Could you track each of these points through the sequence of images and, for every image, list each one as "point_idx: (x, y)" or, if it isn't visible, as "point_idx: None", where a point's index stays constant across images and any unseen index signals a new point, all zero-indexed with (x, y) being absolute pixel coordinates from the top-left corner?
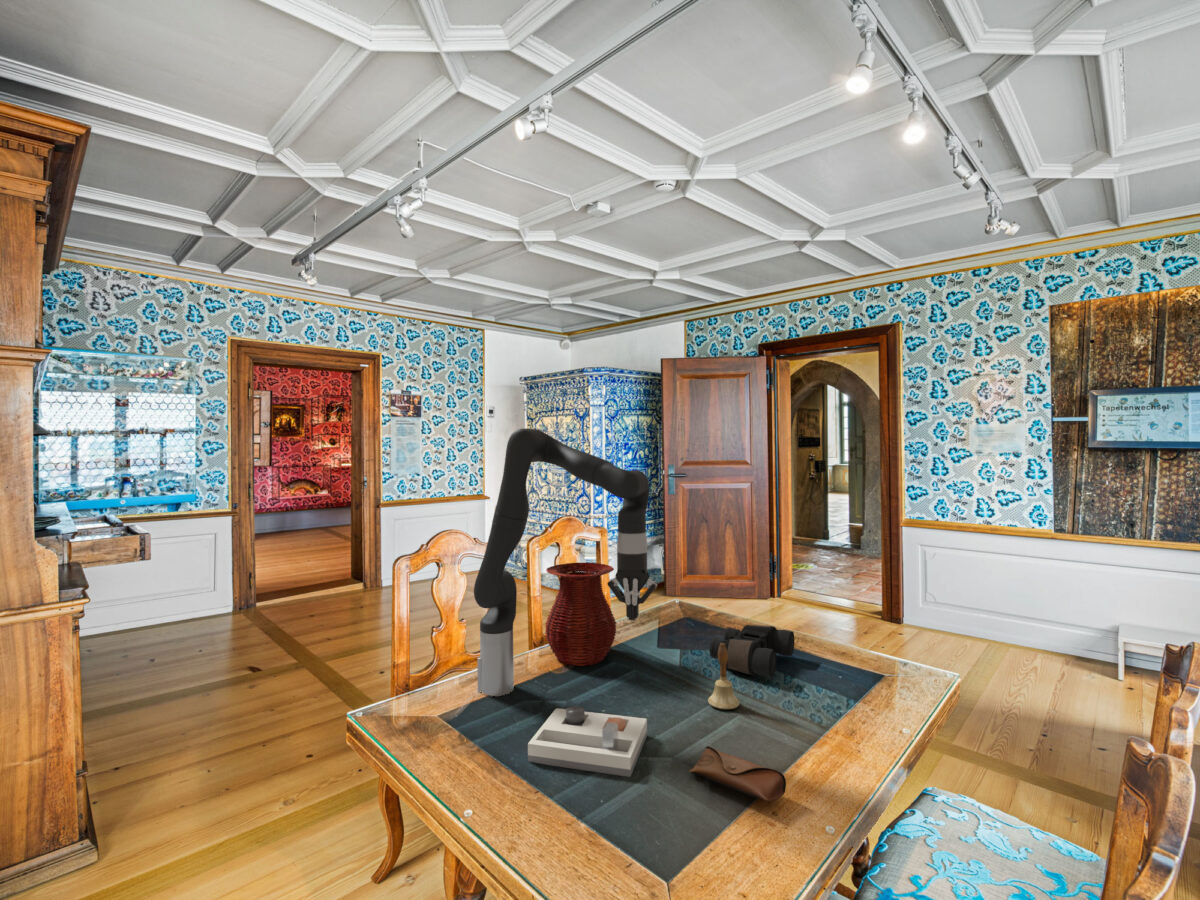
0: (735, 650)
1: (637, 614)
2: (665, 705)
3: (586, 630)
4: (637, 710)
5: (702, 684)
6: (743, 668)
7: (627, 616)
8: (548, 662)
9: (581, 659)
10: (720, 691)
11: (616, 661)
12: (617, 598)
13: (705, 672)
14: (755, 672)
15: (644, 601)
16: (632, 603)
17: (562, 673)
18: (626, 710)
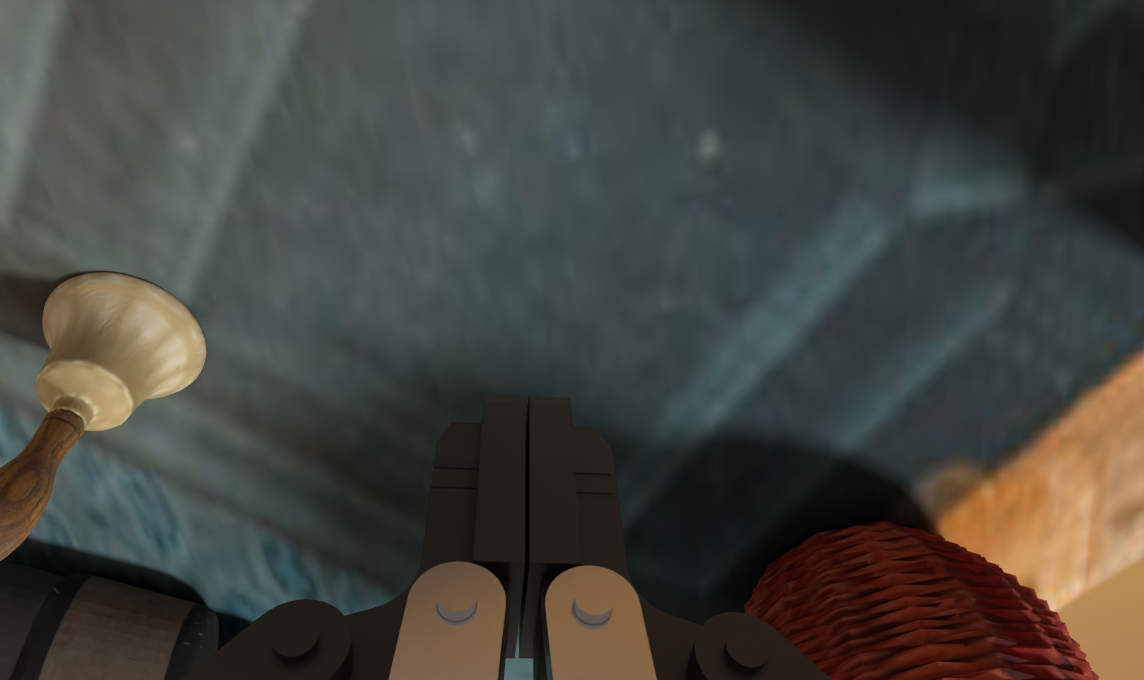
0: (120, 670)
1: (435, 468)
2: (397, 257)
3: (890, 669)
4: (529, 179)
5: (280, 476)
6: (107, 591)
7: (593, 436)
8: (995, 544)
9: (861, 544)
10: (97, 343)
11: (695, 594)
12: (824, 673)
13: (298, 571)
14: (51, 575)
15: (231, 643)
16: (502, 596)
17: (932, 466)
18: (586, 169)
